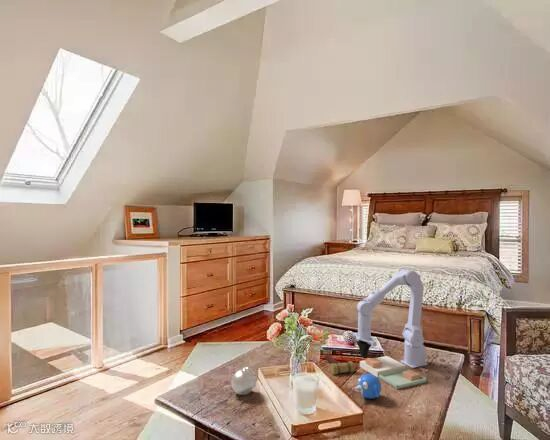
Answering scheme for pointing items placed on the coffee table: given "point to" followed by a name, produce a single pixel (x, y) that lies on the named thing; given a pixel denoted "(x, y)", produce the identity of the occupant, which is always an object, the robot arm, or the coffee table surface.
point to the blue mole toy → (368, 386)
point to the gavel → (339, 366)
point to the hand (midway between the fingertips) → (363, 357)
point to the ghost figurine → (243, 381)
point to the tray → (400, 379)
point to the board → (383, 366)
